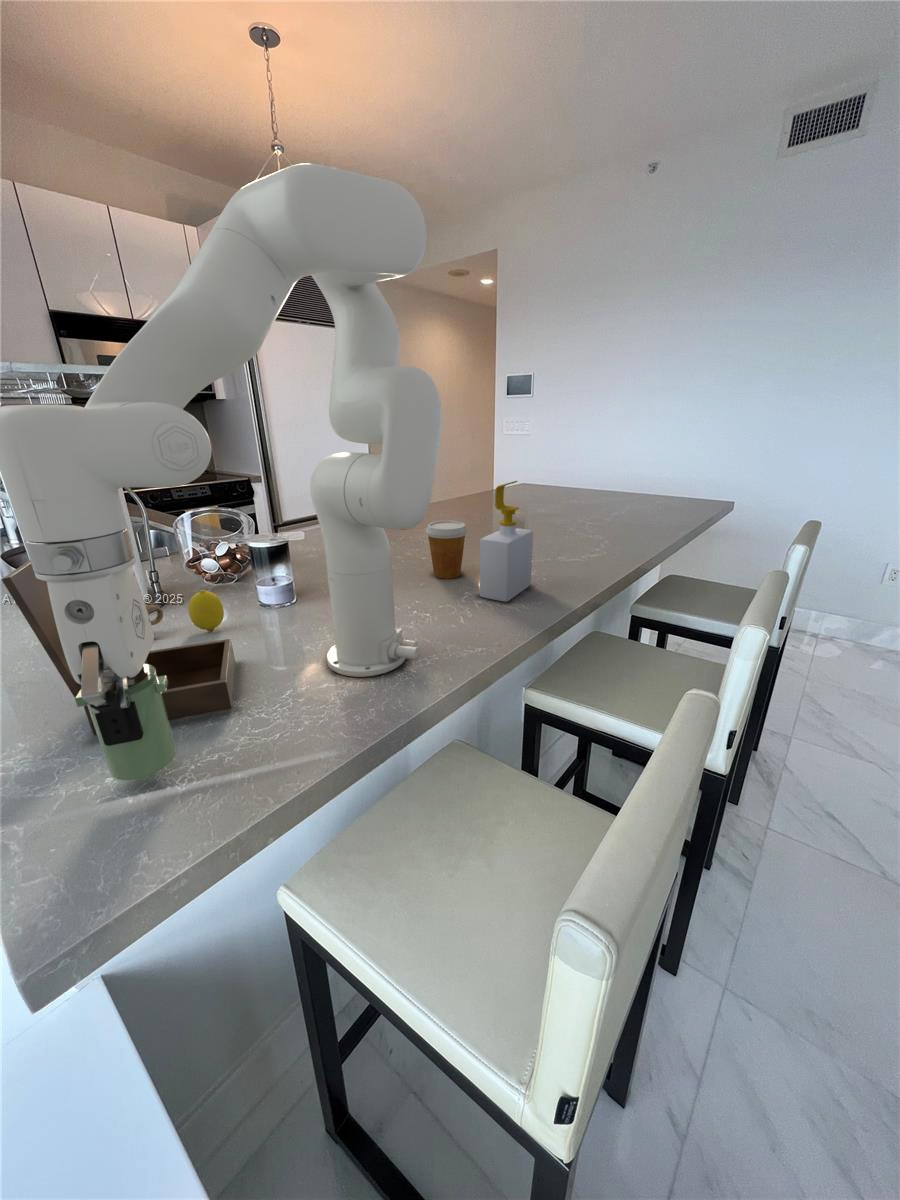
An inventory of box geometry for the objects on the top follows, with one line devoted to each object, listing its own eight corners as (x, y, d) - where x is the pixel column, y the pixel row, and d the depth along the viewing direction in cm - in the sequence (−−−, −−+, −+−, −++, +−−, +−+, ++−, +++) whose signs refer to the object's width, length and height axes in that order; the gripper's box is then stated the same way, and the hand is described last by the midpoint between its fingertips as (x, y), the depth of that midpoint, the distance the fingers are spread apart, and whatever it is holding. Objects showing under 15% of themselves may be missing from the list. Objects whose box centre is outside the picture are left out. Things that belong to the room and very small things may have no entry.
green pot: (187, 735, 56) (167, 657, 52) (179, 769, 51) (157, 686, 47) (110, 750, 54) (84, 670, 50) (93, 789, 48) (63, 702, 45)
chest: (236, 665, 77) (230, 638, 75) (232, 713, 65) (225, 681, 63) (121, 685, 72) (112, 656, 70) (95, 740, 60) (83, 707, 58)
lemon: (214, 639, 86) (205, 596, 83) (186, 636, 87) (177, 594, 84) (233, 626, 91) (225, 585, 88) (207, 624, 92) (198, 583, 89)
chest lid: (56, 545, 63) (49, 546, 63) (9, 577, 51) (0, 579, 51) (115, 652, 70) (109, 654, 70) (86, 702, 58) (78, 705, 58)
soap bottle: (506, 603, 99) (510, 486, 90) (478, 597, 102) (479, 483, 94) (531, 585, 108) (537, 478, 100) (504, 580, 112) (507, 476, 103)
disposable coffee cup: (422, 570, 119) (421, 522, 115) (459, 566, 122) (459, 519, 118) (433, 582, 111) (432, 531, 107) (472, 578, 114) (473, 527, 109)
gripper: (106, 576, 37) (159, 765, 44) (149, 528, 53) (184, 674, 59) (-15, 589, 35) (60, 786, 42) (66, 535, 50) (112, 686, 57)
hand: (132, 719), depth 50 cm, fingers closed on green pot, 6 cm apart
